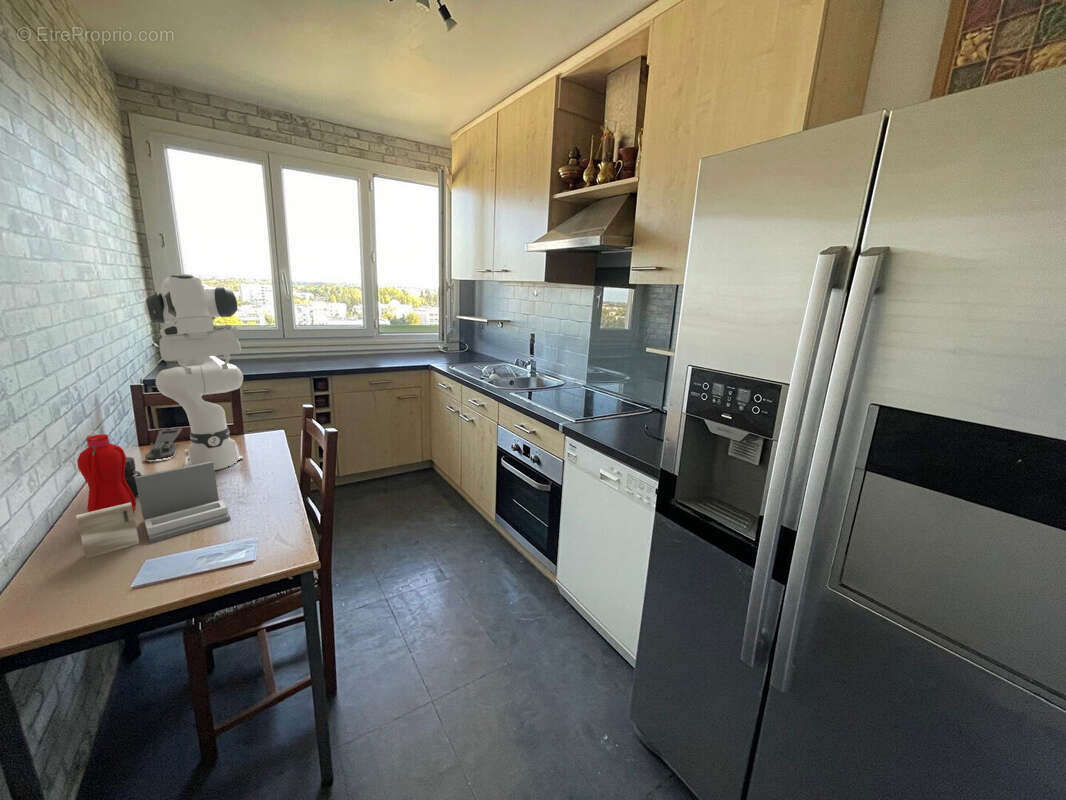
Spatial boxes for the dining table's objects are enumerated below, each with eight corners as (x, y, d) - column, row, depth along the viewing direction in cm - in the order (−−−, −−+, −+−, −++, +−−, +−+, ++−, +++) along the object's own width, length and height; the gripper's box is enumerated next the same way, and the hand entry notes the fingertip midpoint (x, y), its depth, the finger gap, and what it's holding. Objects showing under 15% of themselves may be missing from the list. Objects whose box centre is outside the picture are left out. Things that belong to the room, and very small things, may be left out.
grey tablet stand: (143, 521, 125) (134, 476, 122) (218, 502, 138) (211, 461, 135) (150, 542, 115) (140, 494, 112) (230, 519, 128) (223, 475, 124)
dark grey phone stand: (183, 427, 191) (169, 444, 170) (186, 441, 193) (172, 460, 171) (158, 429, 187) (140, 447, 166) (160, 444, 189) (143, 463, 167)
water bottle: (82, 528, 121) (62, 444, 115) (101, 511, 131) (84, 432, 125) (124, 522, 124) (107, 440, 119) (140, 506, 134) (125, 429, 128)
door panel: (85, 554, 109) (76, 515, 107) (138, 539, 116) (130, 502, 114) (86, 559, 108) (76, 519, 105) (139, 543, 115) (131, 505, 112)
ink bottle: (107, 494, 141) (100, 460, 139) (143, 486, 147) (137, 453, 145) (108, 504, 135) (100, 468, 132) (145, 496, 141) (139, 461, 138)
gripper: (237, 324, 141) (247, 366, 144) (158, 331, 132) (170, 375, 134) (235, 323, 136) (245, 367, 139) (152, 330, 126) (165, 377, 129)
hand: (207, 371), depth 136 cm, fingers open, 8 cm apart
